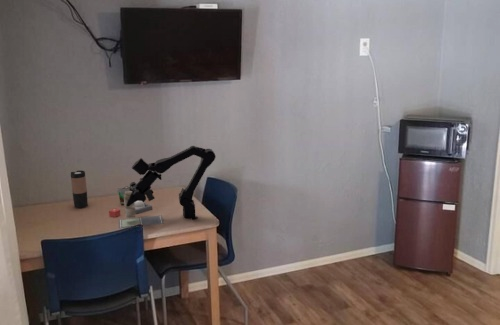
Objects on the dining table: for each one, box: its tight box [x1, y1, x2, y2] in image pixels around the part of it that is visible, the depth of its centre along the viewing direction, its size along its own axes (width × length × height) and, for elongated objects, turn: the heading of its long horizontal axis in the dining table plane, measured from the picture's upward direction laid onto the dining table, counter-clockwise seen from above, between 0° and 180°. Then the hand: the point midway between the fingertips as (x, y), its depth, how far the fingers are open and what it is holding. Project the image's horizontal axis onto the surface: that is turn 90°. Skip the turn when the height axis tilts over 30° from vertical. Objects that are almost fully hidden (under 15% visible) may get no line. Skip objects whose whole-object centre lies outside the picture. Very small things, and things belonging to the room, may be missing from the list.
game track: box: [118, 215, 165, 229], centre depth 240 cm, size 22×12×1 cm, turn 106°
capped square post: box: [123, 191, 136, 219], centre depth 236 cm, size 4×4×13 cm
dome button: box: [134, 201, 145, 209], centre depth 257 cm, size 6×6×6 cm
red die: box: [108, 208, 121, 218], centre depth 248 cm, size 4×4×4 cm
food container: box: [117, 185, 132, 206], centre depth 269 cm, size 12×6×10 cm, turn 143°
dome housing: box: [135, 202, 153, 215], centre depth 257 cm, size 10×10×3 cm
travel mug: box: [70, 170, 89, 209], centre depth 264 cm, size 8×8×20 cm
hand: (126, 204), depth 236 cm, fingers closed on capped square post, 4 cm apart
